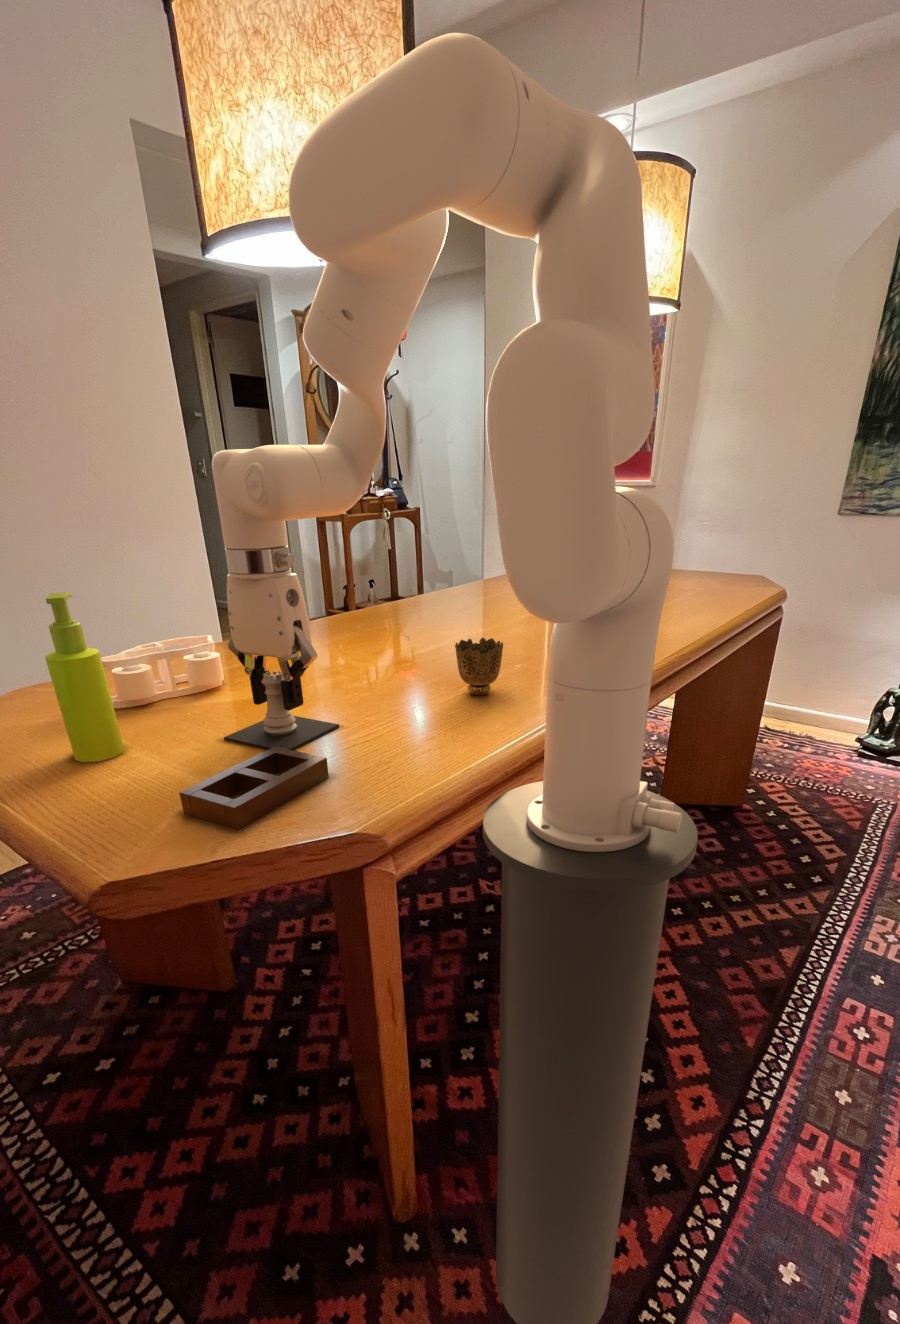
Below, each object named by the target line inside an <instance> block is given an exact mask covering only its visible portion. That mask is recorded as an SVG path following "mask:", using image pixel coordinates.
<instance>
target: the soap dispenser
mask: <svg viewBox="0 0 900 1324" xmlns="http://www.w3.org/2000/svg"><path fill="white" fill-rule="evenodd" d="M72 597H73V593H72V592H71V591H64V592H63V591H61V592H50V593H48V594H47V596H46V597H45V601H46V604H47V605H50V607H51V610H52V611H51V612H52V614H53V618H54V621H53V622H52V623H50V624H49V625H48V629H49V632H50V637H51V640H52V644H53V647H54V651H53V652H50V653H48V654H46V655H45V657H44V658H45V662H46V666H47V669H48V672H49V675H50V679H51V683H52V686H53V689H54V693H55V696H56V700H57V704H58V706H59V709H60V713H61V717H62V720H63V723H64V727H65V730H66V731H65V732H66V734H67V738H68V741H69V744H70V747H71V751H72V755H73V757H74V760H75V761H77V762H81V763H96V762H97V763H98V762H103V761H107V760H111V759H114V758H116V757H118V756H120V755H122V754H123V753H124V751H125V746H124V743H123V739H122V736H121V731H120V727H119V723H118V718H117V715H116V711H115V708H114V707H113V703H112V699H111V697H112V695H111V692H110V688H109V684H108V680H107V676H106V673H105V669H104V668H103V664H102V660H101V652H100V649H98V648H96V647H95V648H93V647H87V643H86V640H85V636H84V632H83V628H82V625H81V622H80V621H76V620H75V619H72V617H71V614H70V609H69V606H68V602H67V601H68V599H69V598H72Z"/></svg>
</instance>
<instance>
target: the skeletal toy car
mask: <svg viewBox="0 0 900 1324" xmlns="http://www.w3.org/2000/svg"><path fill="white" fill-rule="evenodd" d="M183 645H184V646H185V645H187V647H183V648H177V649H172V650H171V649H170V650H164V649H166V648H171V647H178V646H183ZM215 645H216V644H215V641H214V639H213V635H208V634H207V635H197V636H184V637H177V638H176V637H175V638H171V639H165V640H159V641H154V642H149V643H145V644H139V645H137V646H135V647H132V648H129V649H126V650H123V651H121V652H120V653H116V654H112V655H108V656H102V657H101V660H102V664H103V668H104V670H108V669H110V670H111V669H112V670H111V674H112V679H113V683H114V686H115V691H116V695H112V696H111V699H112V703H113V707H114V709H125V708H126V709H127V708H132V707H138V706H144V705H147V704H151V703H155V702H158V701H161V700H165V699H166V700H167V699H172V698H178V697H183V696H187V695H188V696H189V695H193V694H197V693H201V692H205V691H209V690H211V689H215V688H217V687H221V686H222V685H223V683H222V681H224V679H225V677H224V670H223V665H222V659H221V653H219V652H217V651H216V650H215V649H216V646H215ZM181 657H183V663H184V668H185V673H184V674H179V675H175V672H174V667H173V662H172V659H175V658H181ZM151 662H155V663H156V667H157V671H158V675H159V679H157V680H155V676H154V671H153V667H152V665H151V664H148V663H151ZM184 682H187V683H188V684H189V685H191V686H186V687H180V688H178V687H177V684H179V683H184Z"/></svg>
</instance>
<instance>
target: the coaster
mask: <svg viewBox="0 0 900 1324" xmlns="http://www.w3.org/2000/svg"><path fill="white" fill-rule="evenodd" d="M293 716H294V717H295V719H296V720H295V722H294V723H295V724H296V725H297V726H296V728H295V730H294V731H293V732H292V733H289V734H285V735H270V734H268V733H267V732H266V731H265V730H264V727H265V726H266V725H265V724H264V723H263V721H264V719H263V720H261V721H258V722H256V723H254V724H251V725H249V726H247V727H244V728H242V729H240V730H238V731H235V732H232V733H231V734H228V735H226V736H223V739H224V741H228V742H232V743H235V744H240V745H245V746H250V747H254V748H259V749H262V750H268V749H271V748H273V747H280V748H284V749H289V750H294V751H296V749H299V748H300V747H302V746H305V745H307V744H309V743H311V742H312V741H314V740H316V739H318V738H320V737H322V736H324V735H326V734H328V733H330V732H332V731H335V730H336V729H338V728H340V724H339V723H332V722H329V721H322V720H317V719H312V718H306V717H301V716H296V715H293Z"/></svg>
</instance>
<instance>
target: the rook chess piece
mask: <svg viewBox="0 0 900 1324" xmlns="http://www.w3.org/2000/svg"><path fill="white" fill-rule="evenodd" d="M263 677H264V678H263V679H262V681H261V682H262V683H263V684H264V685H265V687H266V691H265V694H266V695H267V702H266V713H265V717H264V719H263V720H264V721H263V720H262V721H263V723H264V724H265V725H266V726H265V727H264V730H265V731H266V732H267V733H268V734H270V735H285V734H289V733H292V732H293V731H294V730H295V728H296V726H297V725H296V724H295V723H294V722H295V720H296V719H295V717H294V716H295V715H294V714H292V710H285V709H284V705H283V698H282V690H281V681H283V680H284V678H283V675H282V672H281V670H280V671H277V670H273V671H272V674H271V671H269V672H266V673H264V674H263Z"/></svg>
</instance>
